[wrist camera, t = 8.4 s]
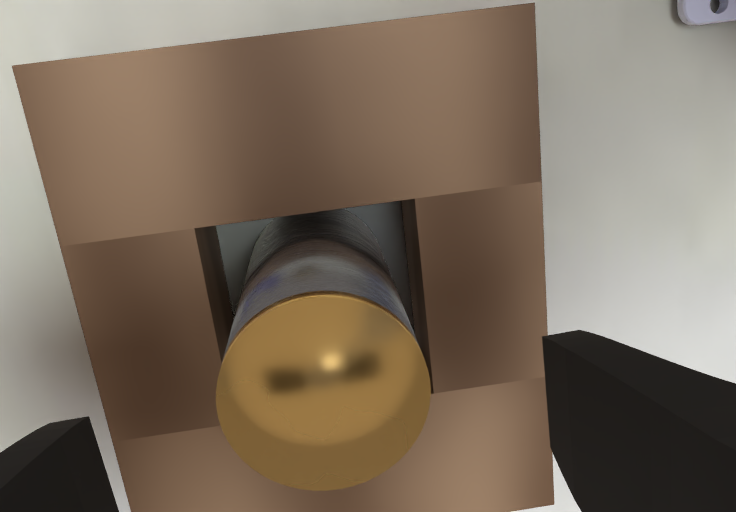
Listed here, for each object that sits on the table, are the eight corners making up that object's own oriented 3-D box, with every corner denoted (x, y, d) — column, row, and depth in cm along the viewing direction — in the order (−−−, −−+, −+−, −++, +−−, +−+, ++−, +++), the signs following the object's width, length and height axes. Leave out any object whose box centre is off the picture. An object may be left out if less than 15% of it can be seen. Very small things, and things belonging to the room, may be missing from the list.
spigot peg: (363, 187, 19) (401, 271, 12) (397, 309, 20) (452, 457, 13) (232, 225, 19) (184, 334, 12) (274, 345, 20) (255, 514, 13)
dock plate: (498, 11, 18) (534, 2, 15) (522, 447, 22) (554, 504, 19) (59, 64, 18) (11, 65, 15) (167, 502, 22) (147, 570, 19)
